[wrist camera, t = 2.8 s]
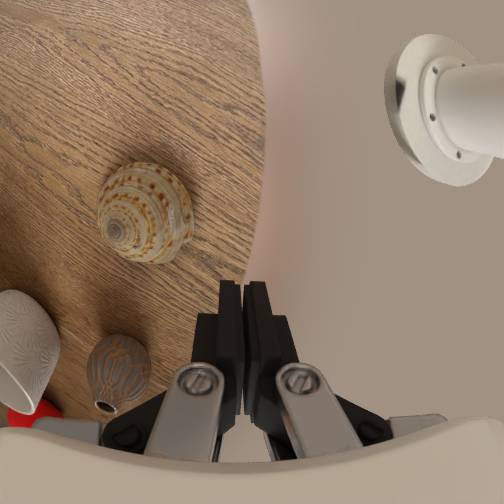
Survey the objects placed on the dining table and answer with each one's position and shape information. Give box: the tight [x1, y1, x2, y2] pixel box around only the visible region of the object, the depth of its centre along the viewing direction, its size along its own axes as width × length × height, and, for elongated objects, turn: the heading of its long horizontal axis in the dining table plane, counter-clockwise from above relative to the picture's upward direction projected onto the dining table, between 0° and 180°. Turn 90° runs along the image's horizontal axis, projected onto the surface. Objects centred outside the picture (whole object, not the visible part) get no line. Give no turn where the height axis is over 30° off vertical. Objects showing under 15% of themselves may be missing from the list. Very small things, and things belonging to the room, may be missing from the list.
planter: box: [0, 290, 60, 415], centre depth 21 cm, size 12×12×11 cm
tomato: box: [7, 398, 64, 428], centre depth 29 cm, size 11×13×10 cm
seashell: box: [96, 162, 195, 264], centre depth 20 cm, size 8×6×8 cm
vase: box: [87, 334, 151, 414], centre depth 23 cm, size 7×7×9 cm
